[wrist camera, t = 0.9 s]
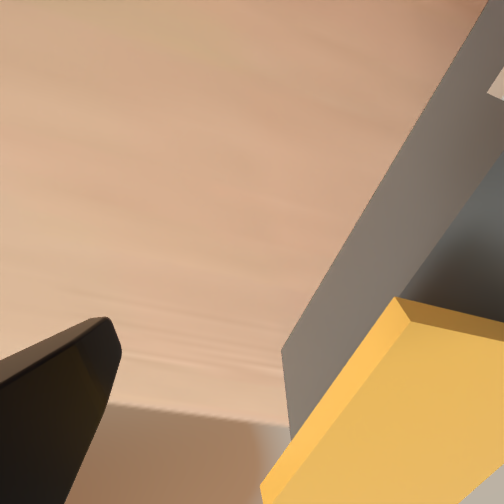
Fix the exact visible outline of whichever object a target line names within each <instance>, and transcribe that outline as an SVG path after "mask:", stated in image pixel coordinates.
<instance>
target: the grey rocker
mask: <svg viewBox="0 0 504 504" xmlns="http://www.w3.org/2000/svg"><path fill="white" fill-rule="evenodd" d="M487 93H488V94H490V95H492V96H495V97H497V98H499V99H501V100H503V101H504V67H503V69H502V70H501V72H500V73H499V75H498V76H497V78H496V79H495V81H494V82H493V84H492V85H491V87H490V89H489V90H488V92H487Z"/></svg>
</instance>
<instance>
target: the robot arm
mask: <svg viewBox="0 0 504 504" xmlns="http://www.w3.org/2000/svg"><path fill="white" fill-rule="evenodd" d="M121 355H122V349H121V344H120V341H119V339H118V336H117V334H116V331H115V329H114V326H113V323H112V321H111V320H110V319H109V318H108V317H97V318H91V319H88V320H86V321H84V322H82V323H79V324H77V325H75V326H73V327H71V328H69V329H67V330H64V331H62V332H60V333H58V334H56V335H54V336H52V337H49V338H47V339H45V340H43V341H41V342H39V343H37V344H34V345H32V346H30V347H28V348H26V349H24V350H22V351H19V352H17V353H15V354H13V355H11V356H9V357H7V358H5V359H2V360H0V504H64V503H65V501H66V498H67V496H68V494H69V492H70V489H71V487H72V485H73V483H74V480H75V478H76V476H77V473H78V471H79V469H80V467H81V464H82V462H83V460H84V457H85V455H86V453H87V451H88V448H89V446H90V444H91V441H92V439H93V437H94V434H95V432H96V430H97V428H98V425H99V423H100V421H101V418H102V416H103V414H104V411H105V408H106V405H107V403H108V400H109V396H110V393H111V390H112V386H113V383H114V380H115V376H116V373H117V370H118V367H119V363H120V360H121Z"/></svg>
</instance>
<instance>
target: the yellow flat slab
mask: <svg viewBox="0 0 504 504" xmlns="http://www.w3.org/2000/svg"><path fill="white" fill-rule="evenodd" d="M503 464H504V323H503V322H499V321H495V320H490V319H486V318H482V317H478V316H474V315H470V314H466V313H461V312H457V311H453V310H449V309H445V308H441V307H436V306H432V305H428V304H424V303H420V302H416V301H412V300H407V299H403V298H399V297H395V296H394V297H393V299H392V300H391V302H390V303H389V304H388V306H387V307H386V309H385V310H384V312H383V313H382V314H381V316H380V317H379V319H378V320H377V321H376V323H375V324H374V326H373V327H372V328H371V330H370V331H369V333H368V334H367V335H366V337H365V338H364V340H363V341H362V342H361V344H360V345H359V347H358V348H357V350H356V351H355V352H354V354H353V355H352V357H351V358H350V359H349V361H348V362H347V364H346V365H345V366H344V368H343V369H342V371H341V372H340V373H339V375H338V376H337V378H336V379H335V381H334V382H333V383H332V385H331V386H330V388H329V389H328V390H327V392H326V393H325V395H324V396H323V397H322V399H321V400H320V402H319V403H318V404H317V406H316V407H315V409H314V410H313V411H312V413H311V414H310V416H309V417H308V419H307V420H306V421H305V423H304V424H303V426H302V427H301V428H300V430H299V431H298V433H297V434H296V435H295V437H294V438H293V440H292V441H291V442H290V444H289V445H288V447H287V448H286V450H285V451H284V452H283V454H282V455H281V457H280V458H279V460H278V461H277V462H276V464H275V465H274V466H273V468H272V469H271V471H270V472H269V473H268V475H267V476H266V478H265V479H264V480H263V482H262V483H261V485H260V489H261V494H262V500H263V504H458V503H459V502H461V501H462V500H463V499H464V498H465V497H466V496H467V495H469V494H470V493H471V492H472V491H473V490H474V489H475V488H476V487H478V486H479V485H480V484H481V483H482V482H483V481H484V480H486V479H487V478H488V477H489V476H490V475H491V474H492V473H494V472H495V471H496V470H497V469H498V468H499V467H500V466H502V465H503Z"/></svg>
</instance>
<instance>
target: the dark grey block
mask: <svg viewBox="0 0 504 504" xmlns="http://www.w3.org/2000/svg"><path fill="white" fill-rule="evenodd" d="M503 67H504V0H489V1H488V3H487V5H486V6H485V8H484V10H483V11H482V13H481V15H480V16H479V18H478V20H477V21H476V23H475V25H474V26H473V28H472V30H471V31H470V33H469V35H468V37H467V38H466V40H465V42H464V43H463V45H462V47H461V48H460V50H459V52H458V53H457V55H456V57H455V58H454V60H453V62H452V63H451V65H450V67H449V68H448V70H447V72H446V74H445V75H444V77H443V79H442V80H441V82H440V84H439V85H438V87H437V89H436V90H435V92H434V94H433V95H432V97H431V99H430V100H429V102H428V104H427V106H426V107H425V109H424V111H423V112H422V114H421V116H420V117H419V119H418V121H417V122H416V124H415V126H414V127H413V129H412V131H411V132H410V134H409V136H408V137H407V139H406V141H405V143H404V144H403V146H402V148H401V149H400V151H399V153H398V154H397V156H396V158H395V159H394V161H393V163H392V164H391V166H390V168H389V169H388V171H387V173H386V175H385V176H384V178H383V180H382V181H381V183H380V185H379V186H378V188H377V190H376V191H375V193H374V195H373V196H372V198H371V200H370V201H369V203H368V205H367V206H366V208H365V210H364V212H363V213H362V215H361V217H360V218H359V220H358V222H357V223H356V225H355V227H354V228H353V230H352V232H351V233H350V235H349V237H348V238H347V240H346V242H345V244H344V245H343V247H342V249H341V250H340V252H339V254H338V255H337V257H336V259H335V260H334V262H333V264H332V265H331V267H330V269H329V270H328V272H327V274H326V275H325V277H324V279H323V281H322V282H321V284H320V286H319V287H318V289H317V291H316V292H315V294H314V296H313V297H312V299H311V301H310V302H309V304H308V306H307V307H306V309H305V311H304V313H303V314H302V316H301V318H300V319H299V321H298V323H297V324H296V326H295V328H294V329H293V331H292V333H291V334H290V336H289V338H288V339H287V341H286V343H285V344H284V346H283V348H282V350H281V353H282V362H283V371H284V380H285V390H286V399H287V408H288V417H289V426H290V435H291V441H292V440H293V438H294V437H295V435H296V434H297V433H298V431H299V430H300V428H301V427H302V426H303V424H304V423H305V421H306V420H307V419H308V417H309V416H310V414H311V413H312V411H313V410H314V409H315V407H316V406H317V404H318V403H319V402H320V400H321V399H322V397H323V396H324V395H325V393H326V392H327V390H328V389H329V388H330V386H331V385H332V383H333V382H334V381H335V379H336V378H337V376H338V375H339V373H340V372H341V371H342V369H343V368H344V366H345V365H346V364H347V362H348V361H349V359H350V358H351V357H352V355H353V354H354V352H355V351H356V350H357V348H358V347H359V345H360V344H361V342H362V341H363V340H364V338H365V337H366V335H367V334H368V333H369V331H370V330H371V328H372V327H373V326H374V324H375V323H376V321H377V320H378V319H379V317H380V316H381V314H382V313H383V312H384V310H385V309H386V307H387V306H388V304H389V303H390V302H391V300H392V299H393V297H394V296H395V297H399V298H403V299H407V300H412V301H416V302H420V303H424V304H428V305H432V306H436V307H441V308H445V309H449V310H453V311H457V312H461V313H466V314H470V315H474V316H478V317H482V318H486V319H490V320H495V321H499V322H503V323H504V101H503V100H501V99H499V98H497V97H495V96H492V95H490V94H488V93H487V92H488V90H489V89H490V87H491V85H492V84H493V82H494V81H495V79H496V78H497V76H498V75H499V73H500V72H501V70H502V69H503Z"/></svg>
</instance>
